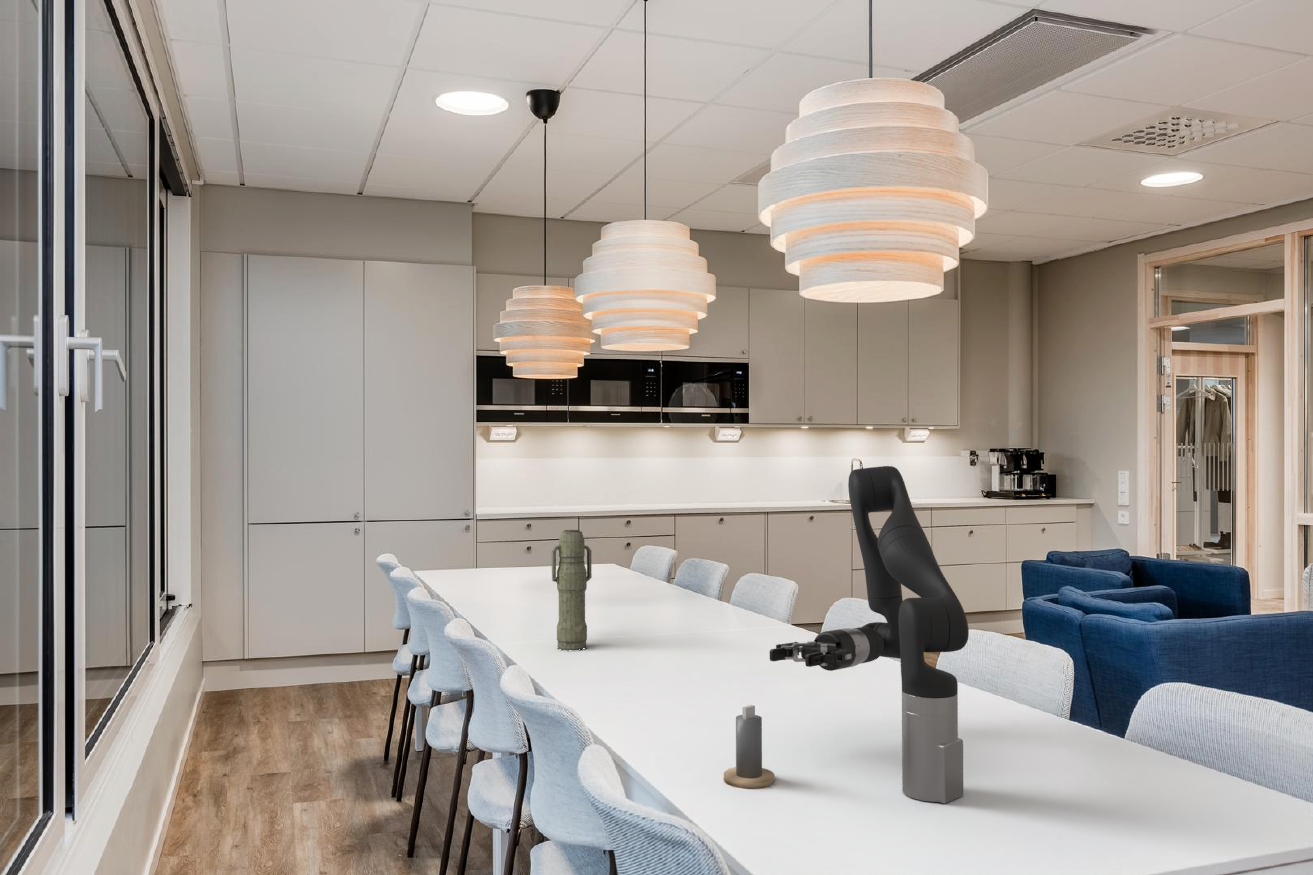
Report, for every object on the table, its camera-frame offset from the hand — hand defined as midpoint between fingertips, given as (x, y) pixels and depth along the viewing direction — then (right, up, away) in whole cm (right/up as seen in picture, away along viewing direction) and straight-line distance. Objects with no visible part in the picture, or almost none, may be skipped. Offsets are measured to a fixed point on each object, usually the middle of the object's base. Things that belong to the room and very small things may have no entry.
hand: (788, 658), depth 185 cm
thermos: (-50, -22, +113) cm, 125 cm away
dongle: (-8, -19, -8) cm, 22 cm away
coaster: (-8, -20, -8) cm, 23 cm away
